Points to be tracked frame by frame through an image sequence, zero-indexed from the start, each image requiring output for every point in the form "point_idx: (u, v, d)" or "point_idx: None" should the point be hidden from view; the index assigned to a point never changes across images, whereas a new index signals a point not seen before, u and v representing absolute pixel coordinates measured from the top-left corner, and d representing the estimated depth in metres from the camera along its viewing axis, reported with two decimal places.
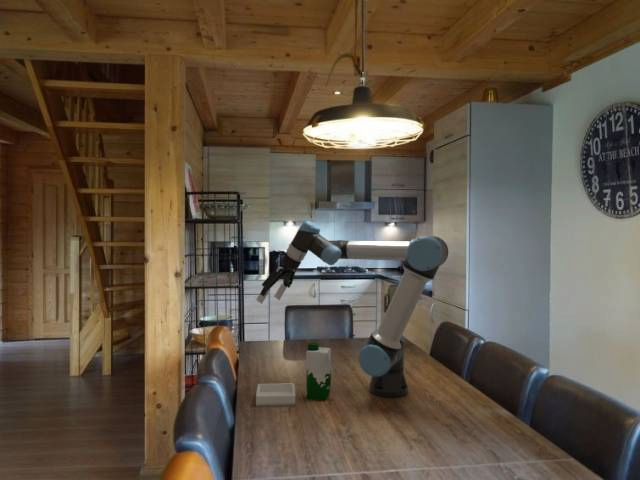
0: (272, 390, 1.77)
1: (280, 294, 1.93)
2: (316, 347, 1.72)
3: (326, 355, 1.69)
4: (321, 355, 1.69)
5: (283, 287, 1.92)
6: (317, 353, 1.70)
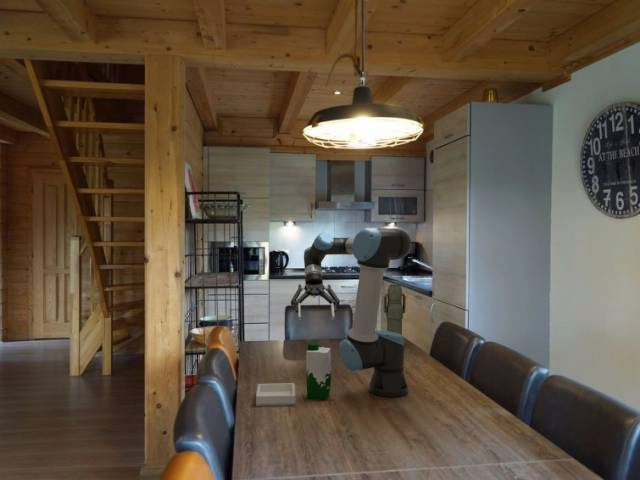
0: (272, 390, 1.77)
1: (332, 312, 1.87)
2: (316, 347, 1.72)
3: (326, 355, 1.69)
4: (321, 355, 1.69)
5: (331, 306, 1.89)
6: (317, 353, 1.70)
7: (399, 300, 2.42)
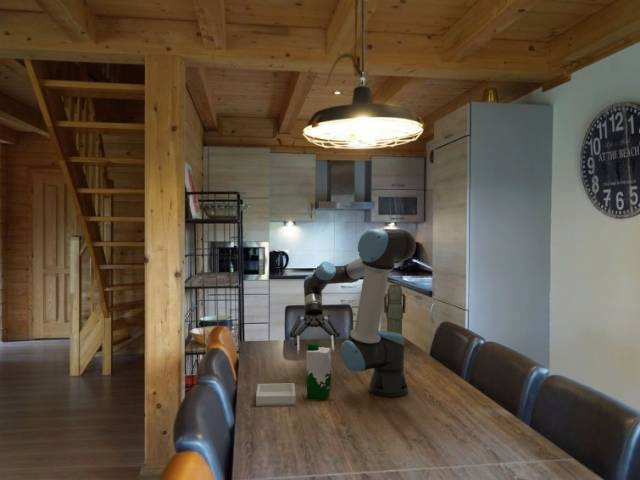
0: (272, 390, 1.77)
1: (331, 344, 1.81)
2: (316, 347, 1.72)
3: (326, 355, 1.69)
4: (321, 355, 1.69)
5: (331, 338, 1.84)
6: (317, 353, 1.70)
7: (399, 300, 2.42)
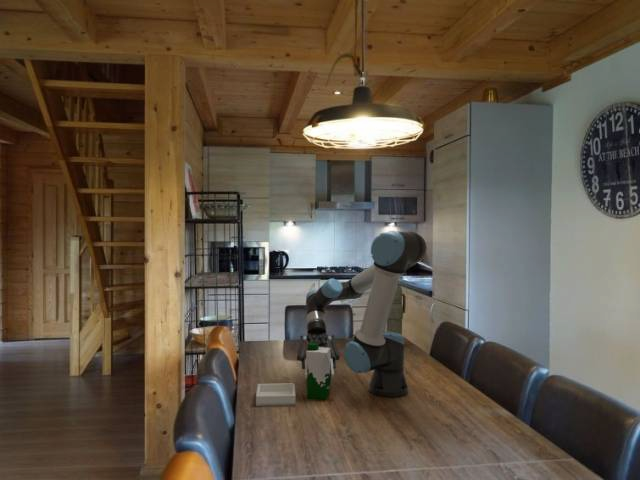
0: (272, 390, 1.77)
1: (331, 368, 1.72)
2: (316, 347, 1.72)
3: (326, 355, 1.69)
4: (321, 355, 1.69)
5: None
6: (317, 353, 1.70)
7: (399, 300, 2.42)
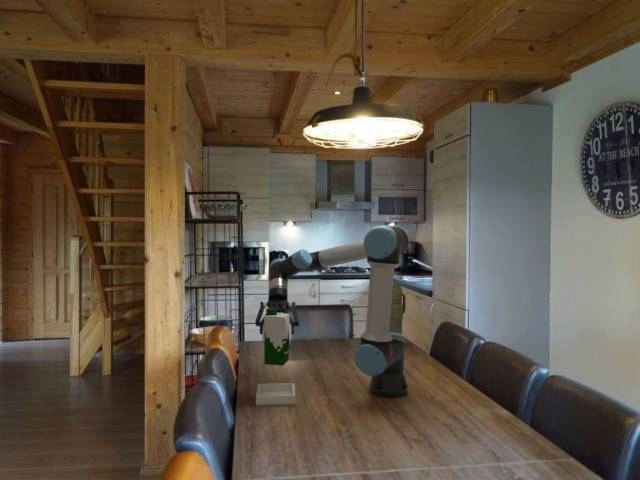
0: (272, 390, 1.77)
1: (289, 334, 1.70)
2: (274, 312, 1.71)
3: (283, 319, 1.68)
4: (278, 319, 1.68)
5: (289, 327, 1.73)
6: (274, 317, 1.68)
7: (399, 300, 2.42)
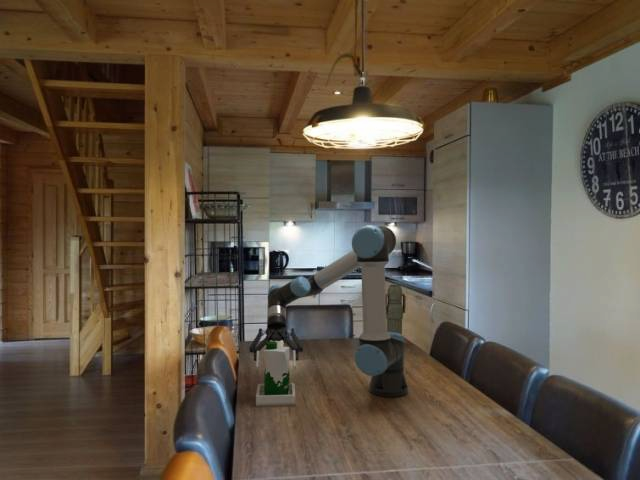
0: None
1: (293, 360, 1.71)
2: (274, 346, 1.70)
3: (283, 354, 1.67)
4: (278, 354, 1.67)
5: (293, 353, 1.73)
6: (274, 352, 1.68)
7: (399, 300, 2.42)
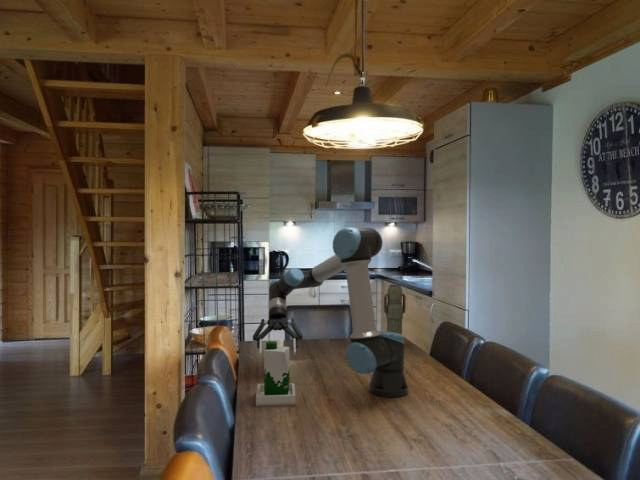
0: None
1: None
2: (274, 346, 1.70)
3: (283, 354, 1.67)
4: (278, 354, 1.67)
5: (293, 341, 1.88)
6: (274, 352, 1.68)
7: (399, 300, 2.42)
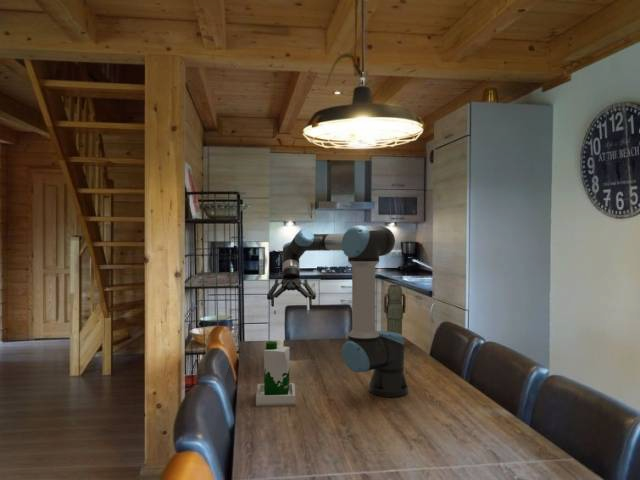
0: None
1: (307, 306, 1.89)
2: (274, 346, 1.70)
3: (283, 354, 1.67)
4: (278, 354, 1.67)
5: None
6: (274, 352, 1.68)
7: (399, 300, 2.42)
